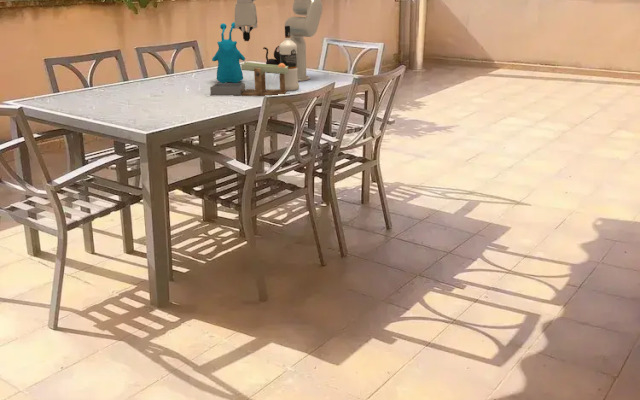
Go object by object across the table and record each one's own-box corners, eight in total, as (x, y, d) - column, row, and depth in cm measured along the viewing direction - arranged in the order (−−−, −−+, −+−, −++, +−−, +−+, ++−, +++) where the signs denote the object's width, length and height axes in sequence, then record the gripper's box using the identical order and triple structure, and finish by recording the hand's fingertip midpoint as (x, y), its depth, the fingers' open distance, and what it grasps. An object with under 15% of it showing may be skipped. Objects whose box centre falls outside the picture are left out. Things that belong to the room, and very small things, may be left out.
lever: (290, 71, 331) (291, 62, 330) (285, 77, 316) (286, 68, 315) (246, 67, 333) (246, 59, 332) (239, 73, 318) (239, 64, 316)
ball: (278, 69, 320) (279, 62, 319) (285, 70, 320) (286, 63, 319) (276, 70, 317) (277, 63, 316) (284, 72, 317) (285, 64, 316)
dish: (216, 91, 331) (215, 83, 329) (245, 91, 329) (244, 83, 328) (210, 95, 321) (210, 87, 320) (240, 95, 319) (240, 87, 318)
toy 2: (284, 74, 375) (284, 46, 370) (261, 73, 380) (259, 45, 375) (291, 72, 382) (290, 44, 377) (267, 71, 387) (266, 43, 382)
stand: (286, 91, 327) (285, 64, 323) (283, 96, 317) (282, 68, 313) (246, 91, 329) (245, 65, 325) (241, 95, 319) (239, 68, 315)
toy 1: (247, 78, 364) (244, 20, 354) (245, 84, 347) (242, 23, 337) (216, 79, 364) (212, 20, 354) (212, 85, 347) (207, 24, 337)
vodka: (292, 87, 338) (290, 24, 328) (302, 89, 331) (301, 25, 321) (276, 89, 334) (273, 25, 324) (286, 92, 326) (283, 27, 316)
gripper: (262, 0, 322) (263, 40, 328) (230, 0, 324) (233, 40, 330) (259, 0, 315) (260, 41, 321) (227, 1, 317) (229, 41, 323)
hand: (246, 40), depth 325 cm, fingers closed
